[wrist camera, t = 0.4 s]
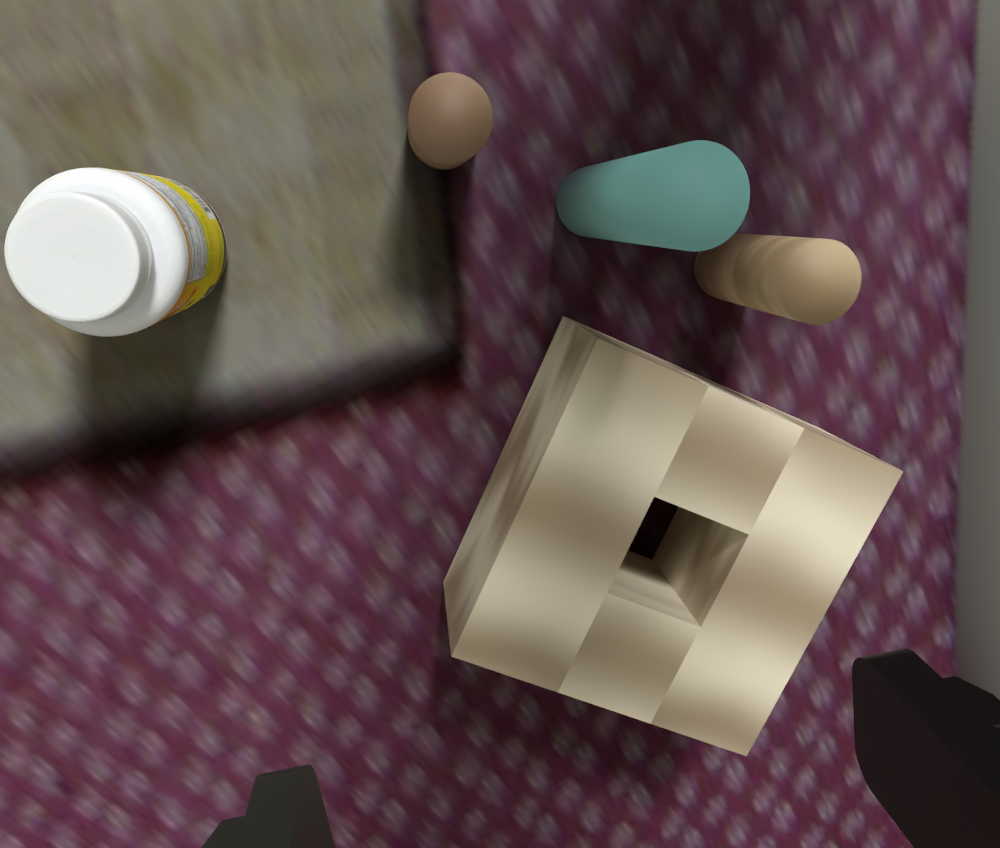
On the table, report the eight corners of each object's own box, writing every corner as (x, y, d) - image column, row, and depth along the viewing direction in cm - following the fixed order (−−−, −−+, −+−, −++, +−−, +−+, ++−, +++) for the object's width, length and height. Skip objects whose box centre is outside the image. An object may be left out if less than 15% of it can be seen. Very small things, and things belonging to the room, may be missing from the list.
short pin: (423, 82, 35) (428, 57, 29) (489, 114, 35) (506, 95, 30) (396, 151, 35) (395, 140, 30) (461, 181, 36) (473, 176, 30)
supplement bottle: (101, 311, 36) (-14, 349, 26) (86, 175, 34) (-42, 161, 24) (236, 310, 36) (173, 348, 26) (226, 177, 35) (157, 163, 25)
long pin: (573, 155, 36) (675, 121, 23) (634, 184, 37) (768, 168, 23) (545, 220, 37) (627, 225, 23) (605, 247, 37) (720, 268, 24)
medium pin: (712, 221, 38) (805, 224, 29) (768, 248, 38) (876, 259, 30) (683, 283, 38) (765, 304, 29) (739, 309, 39) (835, 337, 30)
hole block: (563, 315, 38) (597, 338, 31) (820, 428, 41) (903, 471, 34) (442, 582, 40) (451, 656, 34) (692, 671, 43) (746, 755, 36)
